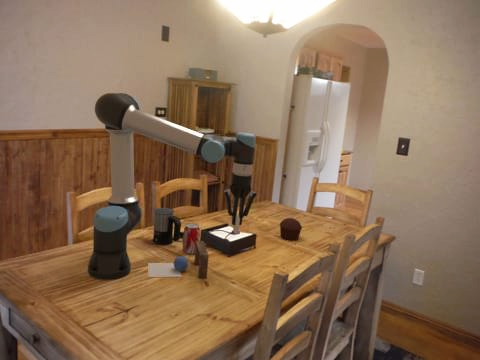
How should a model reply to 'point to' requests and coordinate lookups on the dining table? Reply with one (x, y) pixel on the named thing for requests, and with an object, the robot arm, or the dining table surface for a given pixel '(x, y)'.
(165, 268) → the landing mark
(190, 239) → the soda can
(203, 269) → the bridge
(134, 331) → the dining table surface
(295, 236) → the muffin
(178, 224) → the milk frother
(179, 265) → the ball
